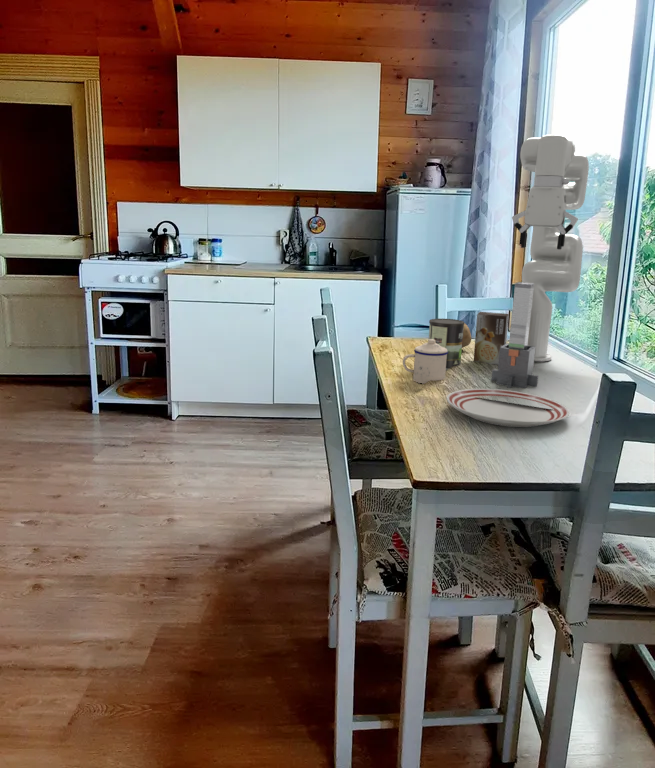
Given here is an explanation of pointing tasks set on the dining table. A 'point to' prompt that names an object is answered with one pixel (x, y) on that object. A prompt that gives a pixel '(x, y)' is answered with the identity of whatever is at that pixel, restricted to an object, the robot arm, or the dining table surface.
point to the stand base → (515, 367)
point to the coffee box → (490, 336)
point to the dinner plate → (506, 408)
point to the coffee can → (448, 338)
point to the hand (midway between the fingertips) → (541, 248)
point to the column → (521, 315)
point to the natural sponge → (466, 336)
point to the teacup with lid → (428, 362)
